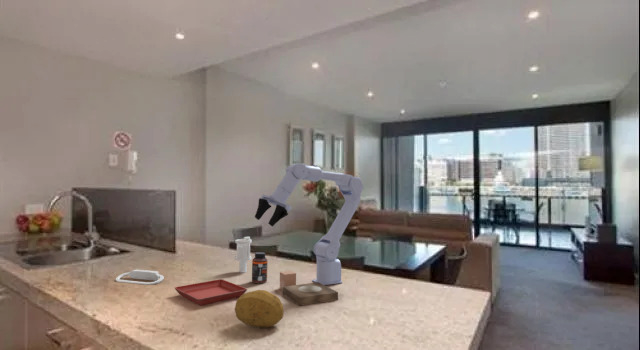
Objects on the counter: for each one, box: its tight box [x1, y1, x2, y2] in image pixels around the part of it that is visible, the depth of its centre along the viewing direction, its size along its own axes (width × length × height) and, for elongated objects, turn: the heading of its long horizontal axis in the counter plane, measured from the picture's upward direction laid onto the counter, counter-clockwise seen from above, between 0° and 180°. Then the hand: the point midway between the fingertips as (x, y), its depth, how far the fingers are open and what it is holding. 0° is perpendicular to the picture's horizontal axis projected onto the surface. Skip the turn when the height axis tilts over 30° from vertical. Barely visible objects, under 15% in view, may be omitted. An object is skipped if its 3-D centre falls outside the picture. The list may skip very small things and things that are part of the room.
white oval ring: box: [115, 269, 165, 286], centre depth 143 cm, size 20×8×4 cm, turn 74°
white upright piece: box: [234, 236, 253, 274], centre depth 160 cm, size 7×7×15 cm
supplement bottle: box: [251, 251, 268, 284], centre depth 144 cm, size 6×6×11 cm
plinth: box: [282, 282, 339, 306], centre depth 125 cm, size 14×14×3 cm
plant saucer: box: [174, 278, 248, 307], centre depth 124 cm, size 18×18×3 cm
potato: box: [234, 289, 285, 329], centre depth 99 cm, size 10×13×9 cm
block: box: [279, 270, 297, 291], centre depth 135 cm, size 4×4×6 cm
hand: (263, 221), depth 132 cm, fingers open, 7 cm apart
